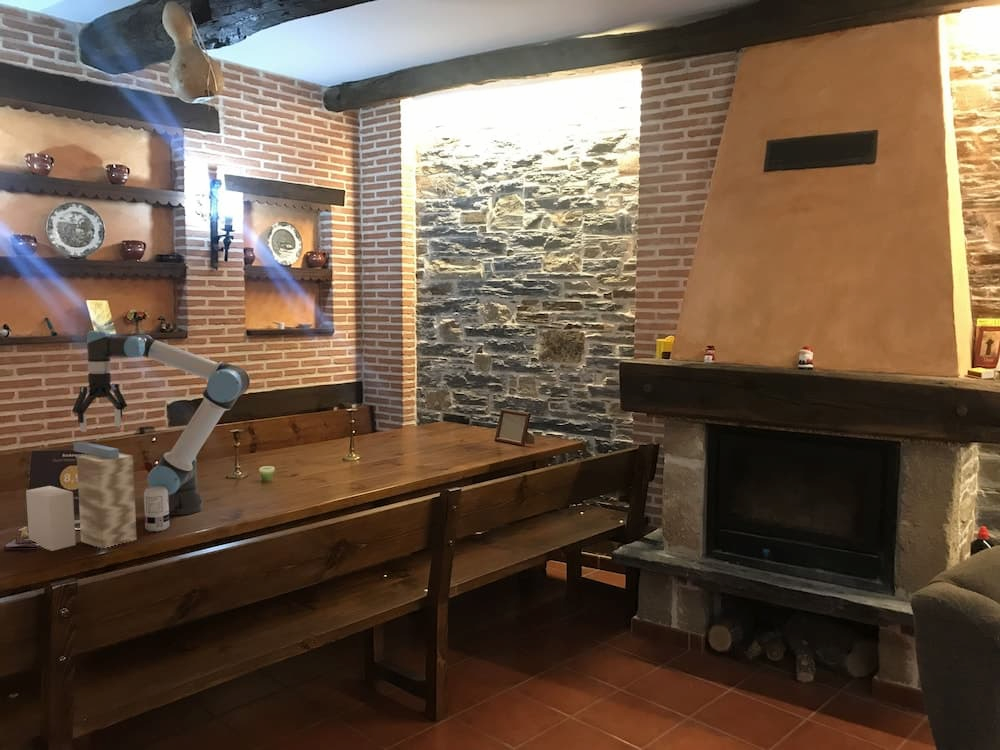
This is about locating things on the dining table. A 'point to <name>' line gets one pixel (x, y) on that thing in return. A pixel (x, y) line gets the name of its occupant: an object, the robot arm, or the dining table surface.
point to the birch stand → (106, 500)
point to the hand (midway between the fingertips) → (100, 429)
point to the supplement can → (156, 508)
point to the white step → (51, 517)
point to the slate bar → (96, 450)
